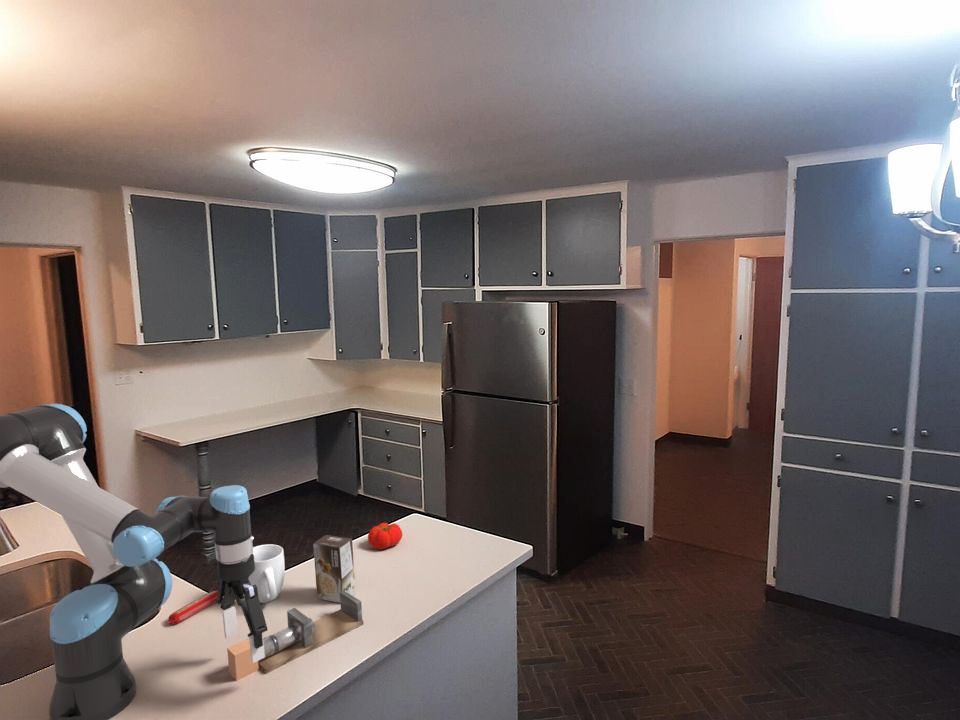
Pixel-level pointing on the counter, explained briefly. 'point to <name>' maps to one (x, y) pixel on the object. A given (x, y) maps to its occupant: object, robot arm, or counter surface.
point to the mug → (268, 571)
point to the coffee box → (334, 567)
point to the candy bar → (193, 607)
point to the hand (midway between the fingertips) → (244, 647)
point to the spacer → (241, 660)
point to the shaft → (284, 639)
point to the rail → (317, 631)
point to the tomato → (384, 535)
